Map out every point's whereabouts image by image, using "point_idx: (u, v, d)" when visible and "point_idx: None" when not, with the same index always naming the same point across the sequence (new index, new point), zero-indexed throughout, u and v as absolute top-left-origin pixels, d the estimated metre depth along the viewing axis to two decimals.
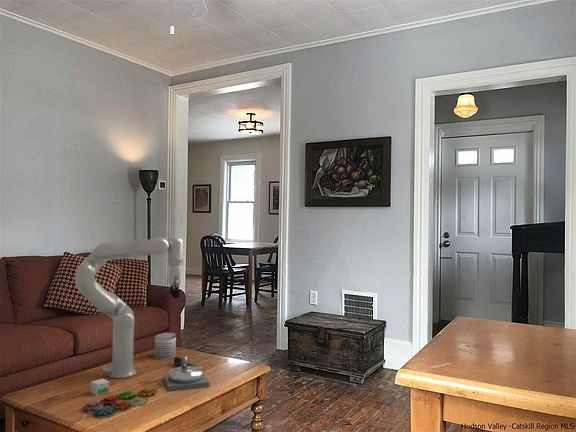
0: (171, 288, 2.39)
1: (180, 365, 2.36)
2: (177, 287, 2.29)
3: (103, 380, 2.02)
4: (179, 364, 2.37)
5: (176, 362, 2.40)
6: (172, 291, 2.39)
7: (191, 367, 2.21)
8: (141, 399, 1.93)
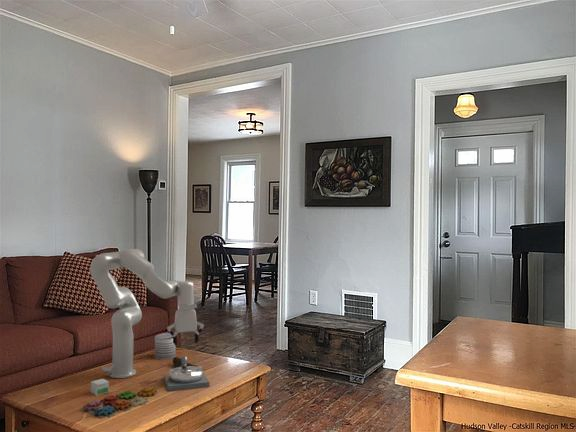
0: (195, 335, 2.24)
1: (179, 365, 2.36)
2: None
3: (103, 380, 2.02)
4: (179, 364, 2.37)
5: (175, 362, 2.39)
6: (195, 338, 2.23)
7: (191, 367, 2.21)
8: (141, 399, 1.93)
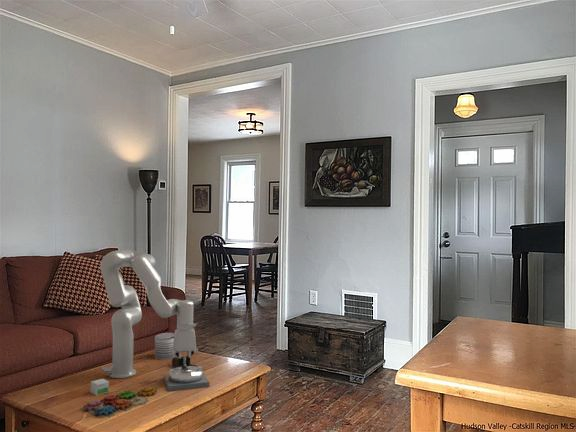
0: None
1: (179, 365, 2.36)
2: None
3: (103, 380, 2.02)
4: (178, 364, 2.36)
5: (174, 362, 2.39)
6: None
7: (191, 367, 2.21)
8: (141, 398, 1.93)
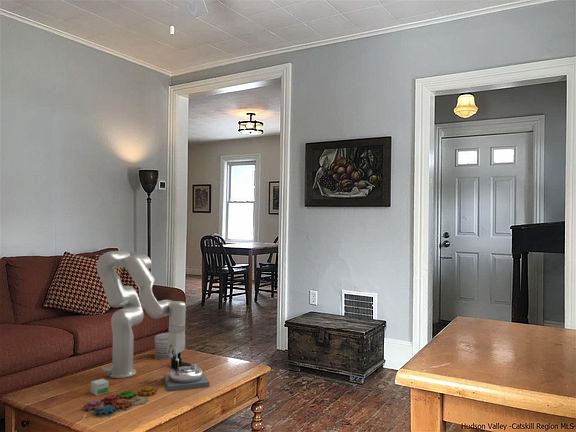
0: None
1: None
2: None
3: (103, 380, 2.02)
4: None
5: None
6: None
7: (181, 367, 2.21)
8: (142, 398, 1.94)
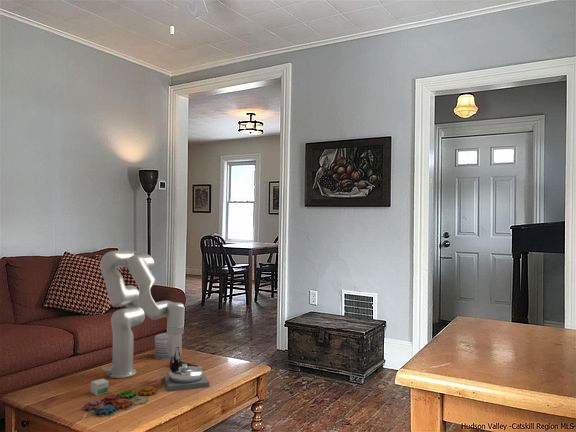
0: (171, 362, 2.15)
1: (179, 365, 2.35)
2: None
3: (103, 380, 2.02)
4: None
5: None
6: None
7: None
8: (142, 398, 1.94)
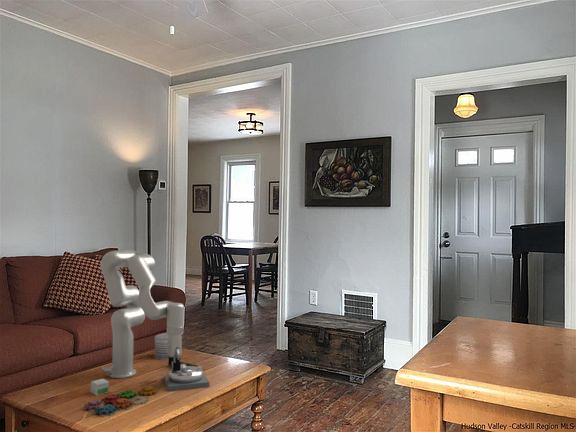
0: (170, 357, 2.17)
1: None
2: None
3: (103, 380, 2.02)
4: None
5: None
6: (171, 361, 2.17)
7: None
8: (142, 398, 1.94)
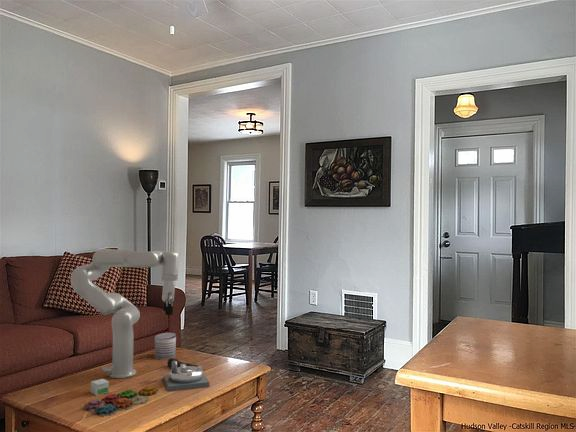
0: (165, 303, 2.30)
1: (177, 366, 2.35)
2: None
3: (103, 380, 2.02)
4: None
5: (171, 363, 2.37)
6: (166, 307, 2.30)
7: None
8: (142, 397, 1.94)
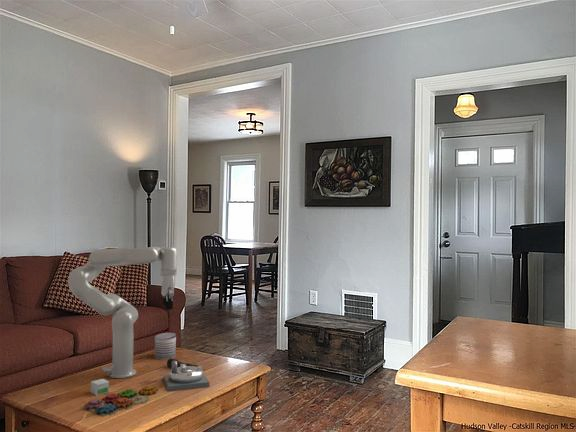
0: (164, 299, 2.32)
1: (177, 366, 2.34)
2: (170, 298, 2.22)
3: (103, 380, 2.02)
4: None
5: (171, 364, 2.37)
6: (165, 302, 2.32)
7: None
8: (142, 397, 1.95)
